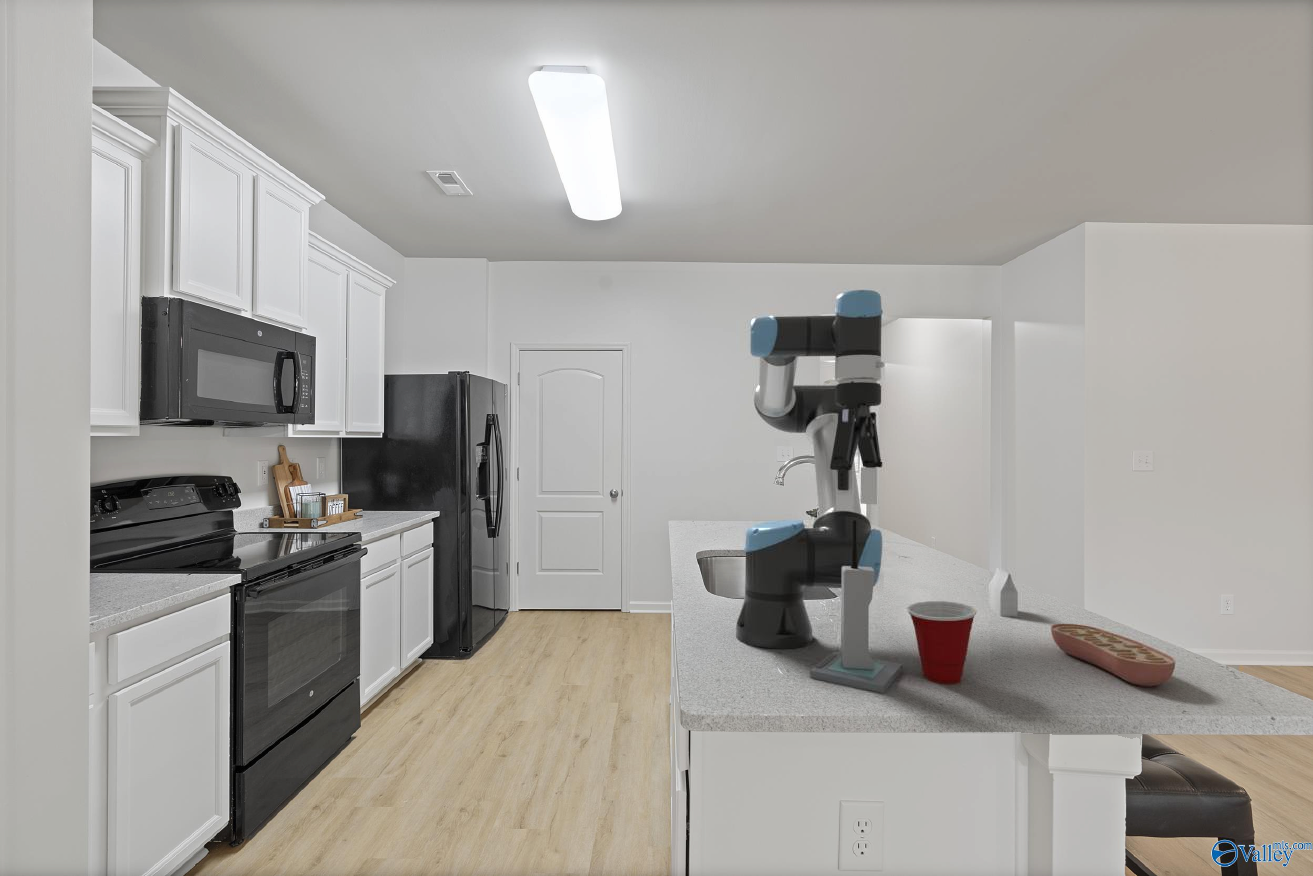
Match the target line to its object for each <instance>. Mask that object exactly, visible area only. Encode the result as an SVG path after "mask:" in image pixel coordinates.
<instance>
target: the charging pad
mask: <svg viewBox="0 0 1313 876" xmlns="http://www.w3.org/2000/svg"><path fill="white" fill-rule="evenodd" d="M872 660H873V662H874V670H858V669H845V668H844V667H843V664H842V661H841V651H840V652H838V651H833V652H831V653H830V654H828V656H826V657H825V658H824V659H823V660H821V661H820V662H818V664H816V665H815V666H813V667H812V668H811V669H810V670H809V678H811V679H816V680H820V681H825V682H830V683H834V684H837V685H838V684H839V685H843V686H847V687H853V688H857V689H860V690H861V689H862V690H867V691H870V692H875V693H881V694H884V693H885V692H886V691H888V688H889V687H891V685H892V684H893V682H894V681H895V680H896V679H897V678H898V676H899V675H900V674H902V672H903V664H902V663H898V662H892V661H886V660H882V659H877V658H872Z"/></svg>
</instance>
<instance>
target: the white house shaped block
mask: <svg viewBox="0 0 1313 876" xmlns="http://www.w3.org/2000/svg"><path fill="white" fill-rule="evenodd" d="M1011 576H1012V575H1011V573H1009V572H1007V571H1005V570H1003V569H1001V568H999V567H996V569H995V572H994V575H993V577H992V578H991V581H989V582H990V583H989V584H988V609H989V610H990V609H991V612H992V611H994V612H993V613H995V612H996V613H997V615H998V614H999V615H1000V616H999V615H998V616H999V617H1010V616H1016V618H1017V617H1018V615H1019V607H1018V604H1019V603H1018V601H1019V600H1018V599H1019V598H1018V597H1019V594H1018V593H1019V592H1018V590H1017V588H1016V586H1015V584H1014V582H1013V579H1012V577H1011ZM996 613H995V614H996Z"/></svg>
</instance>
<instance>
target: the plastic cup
mask: <svg viewBox="0 0 1313 876" xmlns="http://www.w3.org/2000/svg"><path fill="white" fill-rule="evenodd" d="M906 611H907V612H908V614H909V616H910V618H911V621H912V624H913V626H914V627H913V629H914V632H915V638H916V643H917V648H918V649H917V650H918V654H919V657H920V663H921V669H922V673H923V676H924V678H925V680H926V679H927V680H928V681H929V682H933V683H937V684H941V685H955V684H960V683H961V681H962V678H963V673H964V667H965V663H966V661H967V654H968V649H969V648H968V647H969V641H970V636H971V630H972V628H973V623H974V619H975V616H976V614H977V613H978V612H977V609H976V608H975V607H974V606H971V605H969V604H966V603H961V602H957V601H956V602H955V601H944V600H943V601H942V600H940V601H939V600H936V601H935V600H933V601H932V600H931V601H930V600H929V601H921V602H916V603H915V602H914V603H913V604H909V605H908V606H907V607H906Z"/></svg>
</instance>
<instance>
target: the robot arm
mask: <svg viewBox="0 0 1313 876" xmlns="http://www.w3.org/2000/svg"><path fill="white" fill-rule="evenodd" d="M834 313H835V315H834V314H833V315H832V314H831V315H805V316H803V315H799V316H798V315H797V316H795V315H794V316H793V315H792V316H790V315H789V316H774V315H769V316H761V317H755V318H753V319H752V320H751V322H750V342H749V343H750V344H749V345H750V348H749V349H750V354H751V356H752V357H756V358H759V371H758V372H759V375H758V386H757V388H756V389H755V392H754V394H753V395H754V396H753V397H754V398H753V399H754V400H753V401H754V403H753V404H754V408H755V410H756V413H757V414H758V415H759V417H760V418H761V419H762V420H763V421H764V422H765V423H766V424H768V425H769V426H771V427H773V428H775V429H777V430H778V431H782V432H785V433H791V434H792V433H793V434H794V433H795V434H797V433H799V434H805V436H806V438H807V440H808V441H809V442H810V444H812V445H813V454H814V469H815V478H816V479H815V481H816V493H817V494H816V495H817V503H818V504H817V506H818V517H817V518H815V520H814V522H813V524H812V527H810V528H809V527H805V526H806V524H804V521H802V520H799V519H798V520H797V519H787V520H785V519H784V520H772V521H767V522H760V523H757V524H754V525H752V526H750V527H749V528H748V529H747V530H746V533H745V543H744V544H745V546H744V549H743V552H745V565H744V566H745V569H744V572H745V573H744V576H745V577H744V589H745V590H744V599H743V603H742V606H741V609H740V611H739V615H738V618H737V621H736V625H735V635H736V638H737V639H738V640H739V641H741V643H745V644H747V645H750V646H755V647H758V648H759V647H760V648H767V649H774V650H777V649H778V650H779V649H780V650H782V649H783V650H785V649H796V648H802V647H806V646H808V645H810V644H811V643H812V642H813V626H812V623H811V620H810V618H809V614H808V611H807V608H806V605H805V604H806V603H805V601H804V591H805V590H804V589H805V588H822V589H823V588H825V589H827V588H828V589H841V581H842V567H843V566H851V565H852V546H853V520H856V546H857V566H860V567H872V568H873V570H874V571H875V574H874V585H873V588H874V587H876V585H877V584H878V581H879V578H880V573H881V566H882V558H883V557H882V556H883V534H882V531H880V530H879V529H876V528H872V525H871V522H870V519H869V518H868V517H867V516H866V515H865V514H862V509H861V504H862V505H863V504H864V505H878V468H882V467H883V461H882V458H881V452H880V445H879V435H878V429H877V413H876V412H875V411H874V412H873V411H872V412H871V407H877V406H880V405H881V404H882V385H881V384H880V383H878V381H880V380H882V370H881V369H882V368H884V367H885V362H884V361H882V320H883V319H882V317H883V316H882V315H883V313H884V312H883V309H882V296H881V294H880V293H879V292H878V291H875V290H870V289H854V290H848V291H844V292H842V293H839V294H838V295H837V296H836V299H835V309H834ZM799 357H834V361H835V363H834V381H836V382H838V383H836V384H833V385H832V384H831V385H827V384H826V385H824V384H823V385H819V384H817V385H816V384H815V385H808V384H805V385H801V384H800V385H799V384H798V385H794V384H795V378H796V371H797V365H798V358H799ZM857 449H858V452H859V455H860V459H861V463H862V467H860V494H859V487H858V480H857V479H858V478H857V473H856V472H857V471H856V465H855V464H856V463H855V458H856V453H857ZM859 495H860V496H859Z"/></svg>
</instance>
